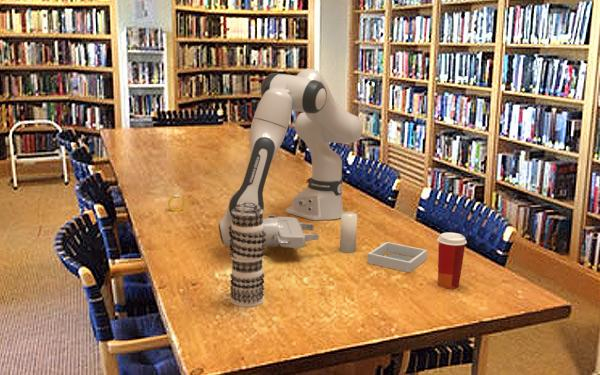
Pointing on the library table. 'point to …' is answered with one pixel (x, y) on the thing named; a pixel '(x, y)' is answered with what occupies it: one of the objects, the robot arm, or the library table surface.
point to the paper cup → (450, 259)
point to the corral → (397, 257)
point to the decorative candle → (247, 255)
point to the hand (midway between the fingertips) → (315, 231)
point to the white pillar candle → (348, 232)
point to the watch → (176, 197)
